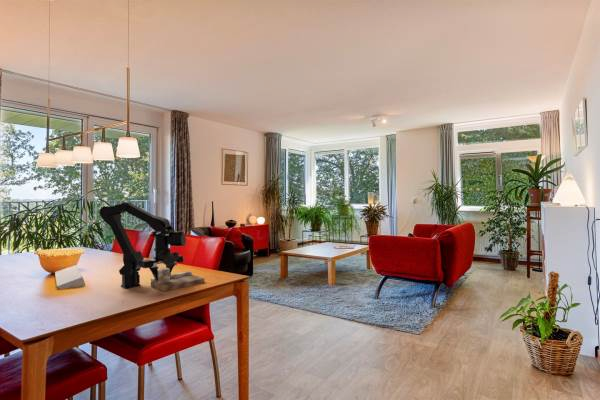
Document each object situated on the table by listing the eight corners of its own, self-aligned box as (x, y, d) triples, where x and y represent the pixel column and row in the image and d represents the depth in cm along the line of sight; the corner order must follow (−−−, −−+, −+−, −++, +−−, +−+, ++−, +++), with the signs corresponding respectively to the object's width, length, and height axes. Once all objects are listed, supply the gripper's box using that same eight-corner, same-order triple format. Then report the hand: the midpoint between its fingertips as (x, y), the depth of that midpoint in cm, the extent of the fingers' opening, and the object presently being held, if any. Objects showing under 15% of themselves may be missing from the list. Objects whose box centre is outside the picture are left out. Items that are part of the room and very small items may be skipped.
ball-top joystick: (164, 286, 148) (164, 272, 148) (155, 282, 154) (154, 269, 154) (175, 283, 152) (175, 270, 151) (165, 280, 158) (165, 267, 158)
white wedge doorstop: (60, 295, 151) (85, 286, 157) (57, 286, 150) (82, 276, 156) (58, 280, 178) (79, 272, 184) (54, 272, 177) (76, 264, 183)
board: (164, 291, 146) (164, 283, 146) (150, 286, 155) (150, 278, 155) (204, 282, 161) (204, 275, 161) (189, 277, 170) (189, 271, 170)
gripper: (149, 250, 142) (150, 287, 142) (189, 245, 156) (190, 278, 156) (138, 247, 149) (138, 282, 149) (177, 243, 163) (177, 275, 163)
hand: (162, 279), depth 154 cm, fingers closed on ball-top joystick, 5 cm apart
